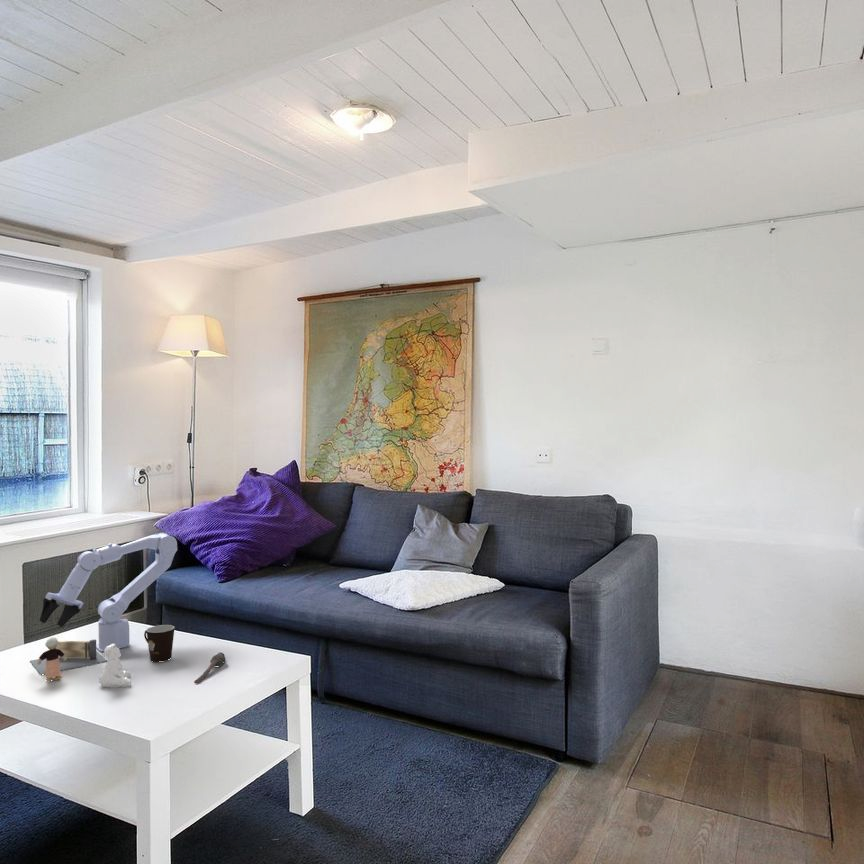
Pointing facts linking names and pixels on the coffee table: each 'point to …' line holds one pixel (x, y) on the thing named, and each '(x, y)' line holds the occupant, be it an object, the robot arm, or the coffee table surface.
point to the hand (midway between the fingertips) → (50, 623)
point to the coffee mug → (160, 642)
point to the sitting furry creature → (114, 670)
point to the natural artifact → (212, 665)
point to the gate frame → (73, 660)
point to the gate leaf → (74, 648)
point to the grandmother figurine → (52, 659)
